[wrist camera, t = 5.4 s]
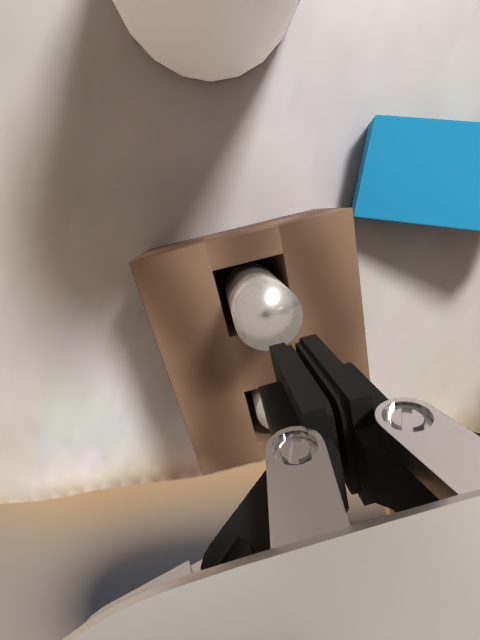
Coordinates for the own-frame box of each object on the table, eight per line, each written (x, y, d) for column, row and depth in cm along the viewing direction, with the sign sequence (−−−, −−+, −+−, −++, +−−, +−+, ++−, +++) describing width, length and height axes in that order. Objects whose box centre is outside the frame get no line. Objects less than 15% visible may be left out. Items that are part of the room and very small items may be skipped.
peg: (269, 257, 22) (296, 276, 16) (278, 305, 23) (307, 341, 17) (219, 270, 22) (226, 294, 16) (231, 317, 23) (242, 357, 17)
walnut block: (314, 208, 26) (352, 207, 19) (339, 384, 32) (374, 429, 25) (148, 249, 26) (128, 262, 19) (203, 419, 31) (203, 474, 25)
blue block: (341, 217, 31) (542, 240, 29) (353, 216, 24) (615, 245, 22) (357, 139, 29) (575, 157, 27) (375, 114, 22) (666, 136, 20)
